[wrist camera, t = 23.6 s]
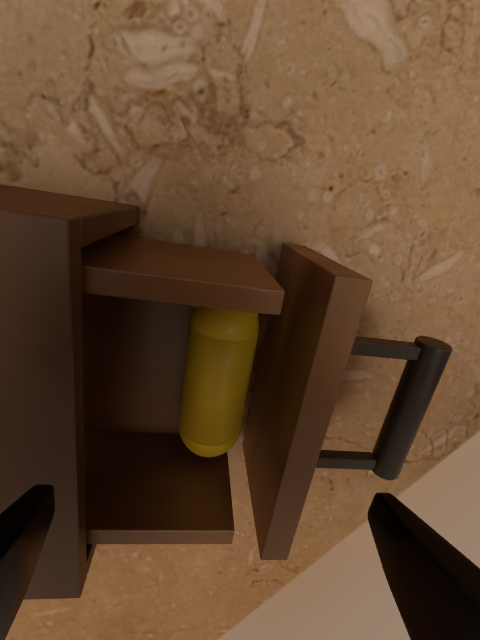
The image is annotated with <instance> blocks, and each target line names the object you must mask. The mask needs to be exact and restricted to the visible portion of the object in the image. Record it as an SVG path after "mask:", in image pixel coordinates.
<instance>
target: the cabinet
mask: <svg viewBox="0 0 480 640" xmlns="http://www.w3.org/2000/svg"><path fill="white" fill-rule="evenodd" d="M139 209H140V208H139V206H135V205H129V204H123V203H116V202H110V201H103V200H97V199H91V198H84V197H78V196H71V195H65V194H59V193H52V192H46V191H39V190H33V189H27V188H20V187H14V186H7V185H1V184H0V514H1V513H2V512H3V511H4V510H5V509H7V508H8V507H9V506H10V505H11V504H12V503H14V502H15V501H16V500H17V499H18V498H20V497H21V496H22V495H23V494H24V493H25V492H27V491H28V490H29V489H30V488H31V487H33V486H34V485H37V484H50V485H52V486H53V487H54V498H55V512H54V516H53V520H52V522H51V525H50V528H49V531H48V534H47V537H46V539H45V542H44V545H43V548H42V551H41V554H40V556H39V559H38V562H37V565H36V568H35V571H34V574H33V576H32V579H31V582H30V584H29V587H28V589H27V592H26V594H25V596H24V599H60V598H80V596H81V593H82V590H83V587H84V584H85V580H86V577H87V573H88V571H89V567H90V564H91V561H92V557H93V554H94V551H95V548H96V544H86V502H85V445H84V388H83V330H82V273H81V248H83V247H85V246H87V245H90V244H92V243H94V242H96V241H99V240H101V239H103V238H106V237H108V236H110V235H112V234H113V235H120V236H127V237H134V238H138V232H139Z"/></svg>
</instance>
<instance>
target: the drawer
mask: <svg viewBox="0 0 480 640" xmlns="http://www.w3.org/2000/svg"><path fill="white" fill-rule="evenodd" d="M81 273H82V330H83V388H84V445H85V502H86V544H231V543H232V540H233V535H234V521H233V510H232V499H231V488H230V477H229V466H228V455H227V452H225V453H224V454H222V455H219V456H216V457H202V456H199V455H196V454H195V453H193V452H192V451H190V450H189V449H188V448H187V447H186V445H185V444H184V442H183V441H182V439H181V437H180V432H179V418H180V408H181V399H182V389H183V380H184V370H185V361H186V351H187V341H188V332H189V322H190V318H191V314H192V312H193V306H201V307H210V308H219V309H228V310H236V311H245V312H254V313H263V314H268V319H267V324H266V329H265V334H264V339H263V344H262V349H261V354H260V359H259V364H258V369H257V374H256V379H255V384H254V389H253V394H252V399H251V405H250V410H249V415H248V420H247V425H246V430H245V435H244V440H243V450H244V457H245V463H246V470H247V476H248V482H249V489H250V495H251V502H252V508H253V515H254V521H255V527H256V534H257V540H258V547H259V553H260V559H261V560H287V558H288V555H289V552H290V549H291V545H292V542H293V539H294V536H295V532H296V529H297V526H298V523H299V519H300V516H301V513H302V510H303V506H304V503H305V500H306V497H307V493H308V490H309V487H310V484H311V480H312V477H313V474H314V471H315V468H336V469H363V470H372V471H373V472H374V473H375V474H376V475H377V476H379V477H381V478H383V479H386V480H395V479H396V478H397V477H398V475H399V473H400V471H401V468H402V466H403V464H404V461H405V459H406V457H407V454H408V452H409V450H410V447H411V445H412V443H413V440H414V438H415V436H416V433H417V431H418V429H419V426H420V424H421V422H422V420H423V417H424V415H425V413H426V410H427V408H428V406H429V403H430V401H431V399H432V396H433V394H434V392H435V389H436V387H437V385H438V382H439V380H440V378H441V375H442V373H443V371H444V368H445V366H446V364H447V361H448V359H449V357H450V354H451V352H452V347H451V346H450V345H448V344H447V343H445V342H443V341H440V340H438V339H435V338H431V337H426V336H418V337H416V338H415V341H414V343H413V342H404V341H394V340H385V339H376V338H366V337H357V336H356V334H357V331H358V328H359V324H360V321H361V318H362V315H363V311H364V308H365V305H366V302H367V298H368V295H369V292H370V289H371V285H372V280H371V279H369V278H367V277H365V276H363V275H361V274H359V273H357V272H355V271H353V270H351V269H349V268H347V267H345V266H343V265H341V264H339V263H337V262H335V261H333V260H331V259H329V258H327V257H325V256H324V255H322V254H320V253H318V252H316V251H314V250H312V249H310V248H308V247H306V246H301V245H295V244H288V243H283V244H282V248H281V253H280V258H279V263H278V268H277V273H276V279H274V278H273V276H272V275H271V274H270V273H269V272H268V270H267V269H266V268H265V267H264V266H263V264H262V263H261V262H260V261H259V260H258V259H257V258H256V257H255V255H253V254H247V253H240V252H233V251H226V250H219V249H212V248H205V247H197V246H190V245H183V244H176V243H169V242H162V241H155V240H148V239H141V238H134V237H127V236H120V235H113V234H112V235H110V236H108V237H106V238H103V239H101V240H99V241H96V242H94V243H92V244H90V245H87V246H85V247H83V248H81ZM350 354H354V355H364V356H375V357H385V358H395V359H406V360H407V362H406V365H405V367H404V370H403V373H402V375H401V378H400V380H399V383H398V386H397V388H396V391H395V394H394V396H393V399H392V402H391V404H390V407H389V409H388V412H387V415H386V417H385V420H384V423H383V425H382V428H381V431H380V433H379V436H378V438H377V441H376V444H375V446H374V449H373V452H372V453H371V452H354V451H333V450H321V448H322V445H323V441H324V438H325V435H326V432H327V428H328V425H329V422H330V419H331V415H332V412H333V409H334V406H335V402H336V399H337V396H338V393H339V389H340V386H341V383H342V380H343V376H344V373H345V370H346V367H347V363H348V360H349V357H350Z"/></svg>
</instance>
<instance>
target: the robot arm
mask: <svg viewBox="0 0 480 640" xmlns="http://www.w3.org/2000/svg"><path fill="white" fill-rule="evenodd" d="M54 512H55V498H54V487H53V486H52V485H50V484H37V485H34V486H33V487H31V488H30V489H29V490H28V491H27V492H25V493H24V494H23V495H22V496H21V497H20V498H18V499H17V500H16V501H15V502H14V503H12V504H11V505H10V506H9V507H8V508H7V509H5V510H4V511H3V512H2V513H1V514H0V640H5V638H6V636H7V634H8V632H9V629H10V627H11V625H12V623H13V621H14V618H15V616H16V614H17V612H18V610H19V607H20V605H21V603H22V601H23V599H24V596H25V594H26V592H27V589H28V587H29V584H30V582H31V579H32V576H33V574H34V571H35V568H36V565H37V562H38V559H39V556H40V554H41V551H42V548H43V545H44V542H45V539H46V537H47V534H48V531H49V528H50V525H51V522H52V520H53V516H54ZM368 521H369V524H370V527H371V531H372V534H373V537H374V541H375V544H376V547H377V550H378V554H379V557H380V560H381V563H382V567H383V569H384V573H385V576H386V579H387V581H388V584H389V587H390V589H391V592H392V594H393V597H394V599H395V602H396V604H397V607H398V609H399V612H400V614H401V617H402V619H403V621H404V624H405V627H406V629H407V632H408V634H409V637H410V639H411V640H480V568H478V567H477V566H476V565H475V564H474V563H472V562H471V561H470V560H469V559H468V558H467V557H465V556H464V555H463V554H462V553H461V552H460V551H458V550H457V549H456V548H455V547H453V546H452V545H451V544H450V543H449V542H448V541H447V540H445V539H444V538H443V537H442V536H440V535H439V534H438V533H437V532H436V531H435V530H433V529H432V528H431V527H430V526H429V525H428V524H426V523H425V522H424V521H423V520H422V519H420V518H419V517H418V516H417V515H416V514H415V513H413V512H412V511H411V510H410V509H409V508H407V507H406V506H405V505H404V504H403V503H402V502H400V501H399V500H398V499H397V498H396V497H394V496H393V495H392V494H390V493H376V494H375V496H374V498H373V501H372V503H371V505H370V508H369V510H368Z"/></svg>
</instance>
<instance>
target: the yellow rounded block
mask: <svg viewBox="0 0 480 640" xmlns="http://www.w3.org/2000/svg"><path fill="white" fill-rule="evenodd" d="M258 334H259V318H258V313H254V312H245V311H236V310H228V309H219V308H210V307H201V306H193V312H192V314H191V318H190V322H189V332H188V341H187V351H186V361H185V370H184V380H183V389H182V399H181V408H180V418H179V432H180V437H181V439H182V441H183V442H184V444H185V445H186V447H187V448H188V449H189V450H190V451H192V452H193V453H195V454H196V455H199V456H202V457H216V456H219V455H222V454H224V453H225V452H227V451H228V450H229V449H230V448H231V447H232V446H233V445H234V444H235V442H236V440H237V439H238V436H239V433H240V430H241V425H242V419H243V414H244V409H245V403H246V398H247V393H248V387H249V382H250V377H251V371H252V366H253V361H254V355H255V350H256V345H257V339H258Z"/></svg>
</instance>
